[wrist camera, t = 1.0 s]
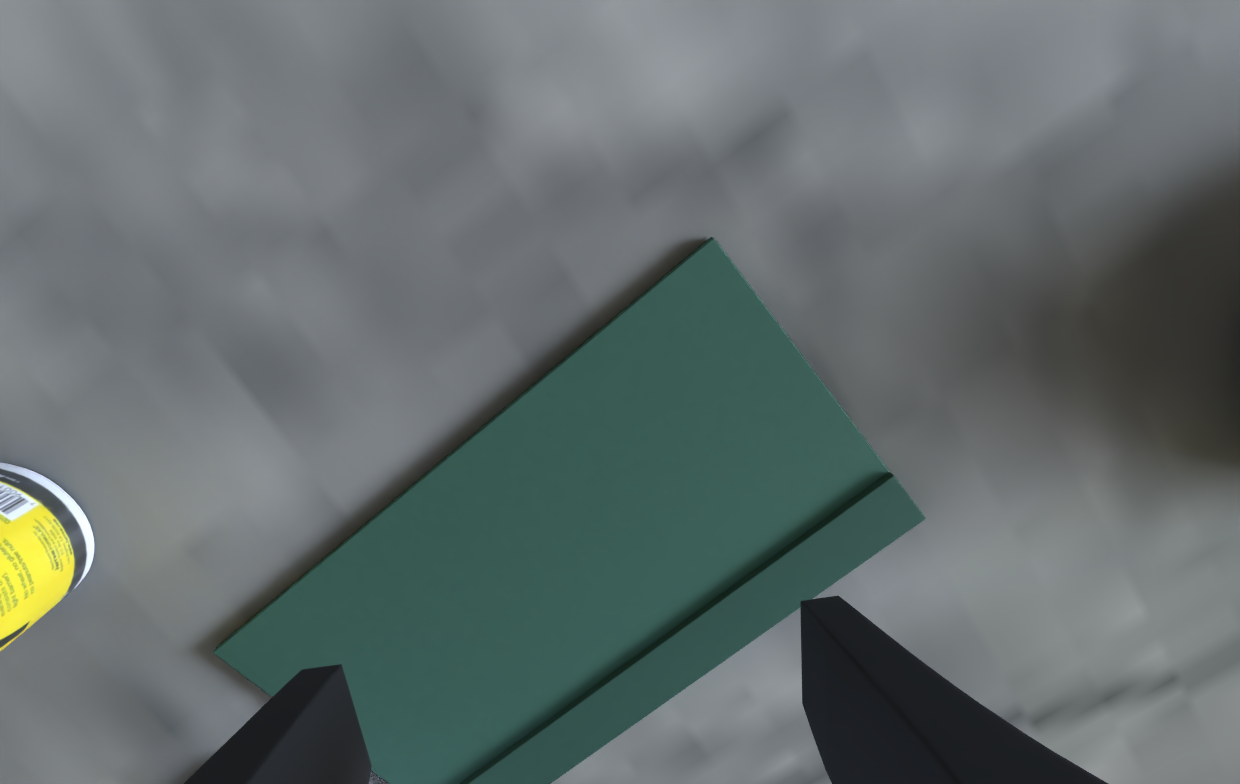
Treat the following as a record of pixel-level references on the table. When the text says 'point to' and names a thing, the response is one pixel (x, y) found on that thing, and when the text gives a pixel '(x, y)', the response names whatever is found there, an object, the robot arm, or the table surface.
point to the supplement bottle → (37, 548)
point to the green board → (590, 544)
